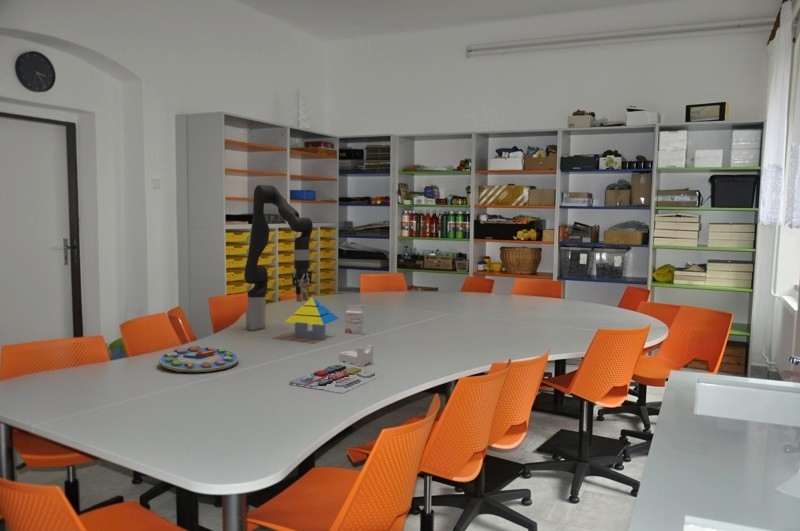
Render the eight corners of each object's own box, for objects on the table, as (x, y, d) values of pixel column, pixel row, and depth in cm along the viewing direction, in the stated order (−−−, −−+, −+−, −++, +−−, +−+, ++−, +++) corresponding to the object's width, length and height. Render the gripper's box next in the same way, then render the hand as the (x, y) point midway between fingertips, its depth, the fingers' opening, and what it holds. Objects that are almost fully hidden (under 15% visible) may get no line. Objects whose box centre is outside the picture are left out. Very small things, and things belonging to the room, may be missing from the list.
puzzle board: (342, 395, 222) (342, 388, 222) (288, 386, 233) (288, 379, 233) (384, 376, 249) (384, 369, 249) (334, 368, 260) (334, 362, 260)
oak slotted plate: (296, 301, 309) (296, 283, 309) (303, 300, 315) (303, 281, 314) (300, 302, 308) (300, 283, 308) (308, 300, 314) (307, 282, 314)
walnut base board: (270, 340, 309) (270, 338, 309) (293, 333, 327) (293, 331, 327) (312, 345, 299) (312, 343, 299) (334, 338, 318) (334, 336, 317)
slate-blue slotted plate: (294, 336, 314) (294, 322, 313) (297, 336, 316) (297, 322, 315) (323, 340, 307) (323, 325, 307) (325, 339, 309) (325, 325, 309)
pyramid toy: (324, 326, 352) (324, 300, 351) (282, 323, 358) (282, 298, 357) (340, 319, 376) (340, 295, 375) (300, 316, 383) (301, 292, 381)
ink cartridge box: (344, 334, 327) (344, 306, 326) (346, 333, 332) (346, 304, 331) (361, 335, 326) (361, 306, 325) (362, 333, 331) (363, 305, 330)
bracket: (372, 363, 268) (373, 345, 268) (361, 366, 263) (361, 348, 262) (349, 358, 276) (350, 341, 276) (338, 361, 271) (338, 343, 270)
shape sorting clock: (164, 378, 239) (164, 362, 239) (154, 360, 266) (154, 346, 265) (247, 370, 253) (247, 355, 253) (229, 354, 280) (229, 340, 280)
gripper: (303, 258, 318) (303, 291, 320) (286, 259, 305) (287, 294, 306) (316, 258, 315) (316, 292, 316) (300, 260, 302) (300, 295, 303)
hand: (302, 293), depth 311 cm, fingers closed on oak slotted plate, 6 cm apart
